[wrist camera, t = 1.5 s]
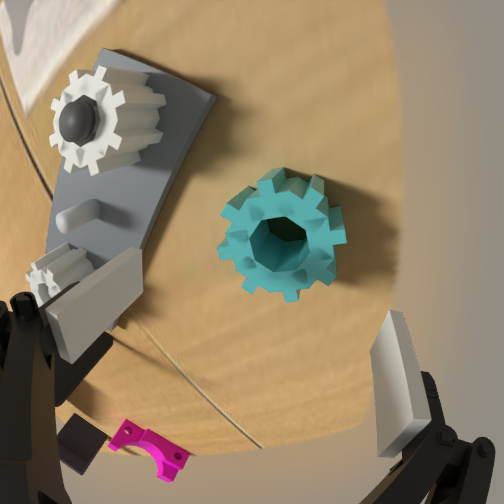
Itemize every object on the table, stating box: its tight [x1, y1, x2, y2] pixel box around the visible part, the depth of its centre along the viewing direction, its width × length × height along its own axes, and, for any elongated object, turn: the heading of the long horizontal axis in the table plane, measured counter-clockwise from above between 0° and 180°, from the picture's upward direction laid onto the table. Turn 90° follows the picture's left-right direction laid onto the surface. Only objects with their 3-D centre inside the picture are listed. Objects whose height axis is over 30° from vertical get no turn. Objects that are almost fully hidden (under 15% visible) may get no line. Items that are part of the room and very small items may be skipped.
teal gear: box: [217, 167, 347, 302], centre depth 23 cm, size 9×9×6 cm
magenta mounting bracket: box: [108, 419, 190, 482], centre depth 48 cm, size 15×6×8 cm, turn 56°
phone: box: [53, 332, 113, 407], centre depth 32 cm, size 7×1×15 cm, turn 71°
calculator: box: [57, 413, 107, 475], centre depth 54 cm, size 11×4×15 cm, turn 68°
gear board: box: [26, 48, 217, 331], centre depth 26 cm, size 32×14×9 cm, turn 149°
